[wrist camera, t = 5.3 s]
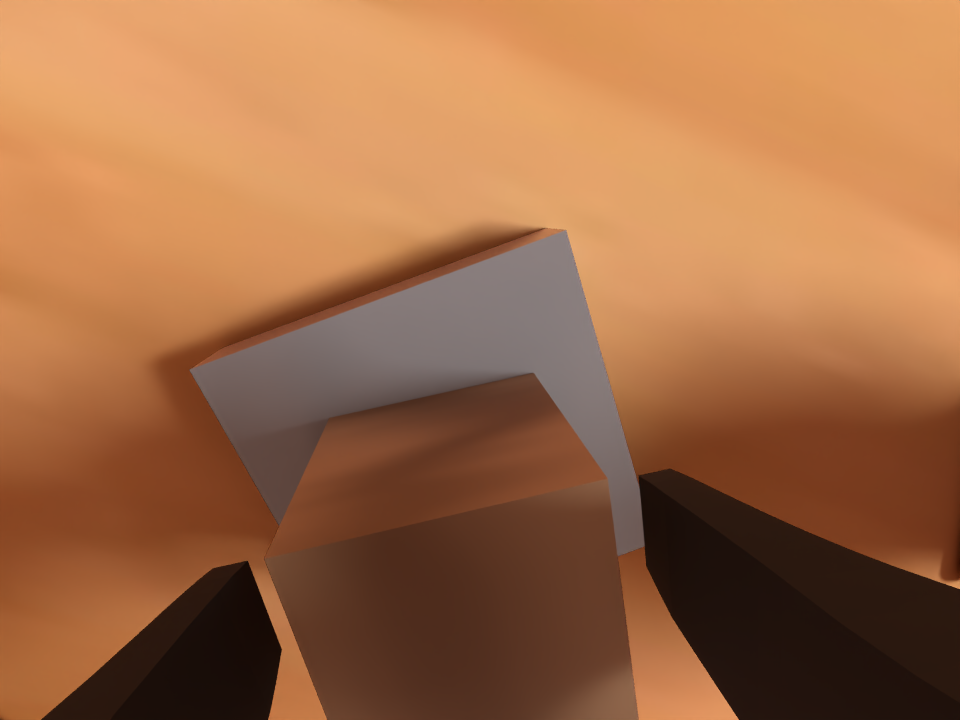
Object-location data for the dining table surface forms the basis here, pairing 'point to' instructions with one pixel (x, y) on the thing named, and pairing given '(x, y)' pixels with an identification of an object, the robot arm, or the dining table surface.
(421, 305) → the plate
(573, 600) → the walnut block
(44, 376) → the dining table surface
